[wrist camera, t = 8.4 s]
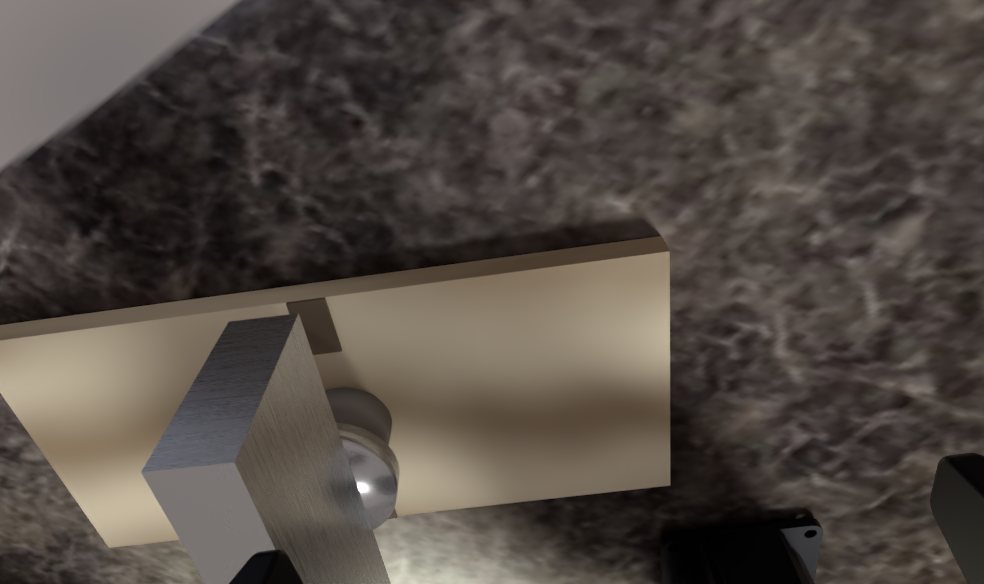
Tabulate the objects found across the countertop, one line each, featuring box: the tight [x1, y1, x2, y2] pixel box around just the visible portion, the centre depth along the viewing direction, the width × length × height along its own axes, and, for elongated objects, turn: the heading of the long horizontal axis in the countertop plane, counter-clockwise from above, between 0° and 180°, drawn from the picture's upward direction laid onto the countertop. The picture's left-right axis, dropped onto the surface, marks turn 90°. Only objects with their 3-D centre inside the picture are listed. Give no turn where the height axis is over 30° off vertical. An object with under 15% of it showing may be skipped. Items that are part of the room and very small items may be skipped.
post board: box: [0, 236, 670, 548], centre depth 22 cm, size 10×22×3 cm, turn 98°
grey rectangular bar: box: [141, 313, 400, 584], centre depth 18 cm, size 4×13×7 cm, turn 7°
